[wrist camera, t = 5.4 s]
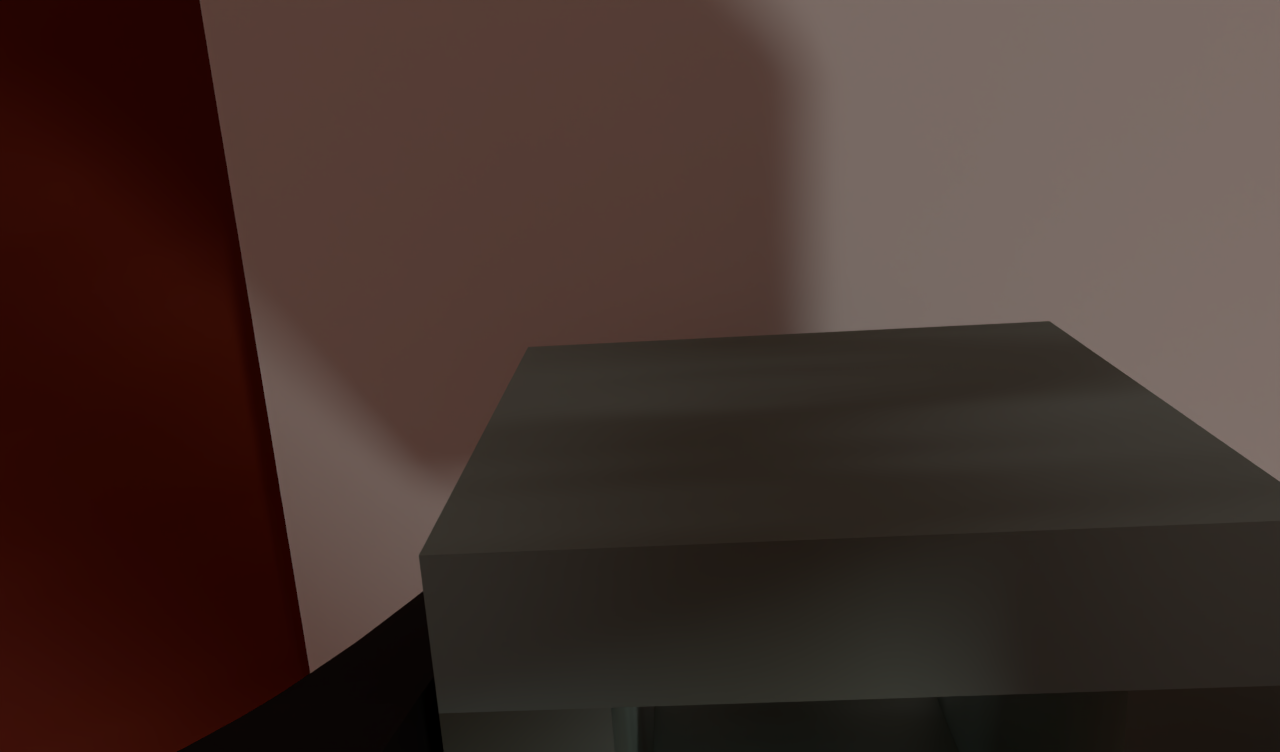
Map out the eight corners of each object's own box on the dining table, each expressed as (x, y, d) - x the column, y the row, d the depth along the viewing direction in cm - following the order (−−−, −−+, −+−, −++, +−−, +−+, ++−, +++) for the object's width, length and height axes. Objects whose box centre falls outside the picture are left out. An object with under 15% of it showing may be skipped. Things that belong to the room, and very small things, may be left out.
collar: (1049, 321, 11) (1334, 520, 6) (1028, 771, 13) (1243, 1208, 8) (527, 347, 11) (417, 555, 7) (568, 784, 13) (503, 1215, 8)
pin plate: (1720, -607, 12) (2364, -1022, 7) (1475, 774, 17) (1772, 1039, 12) (151, -464, 13) (-140, -754, 8) (352, 807, 18) (239, 1065, 13)
